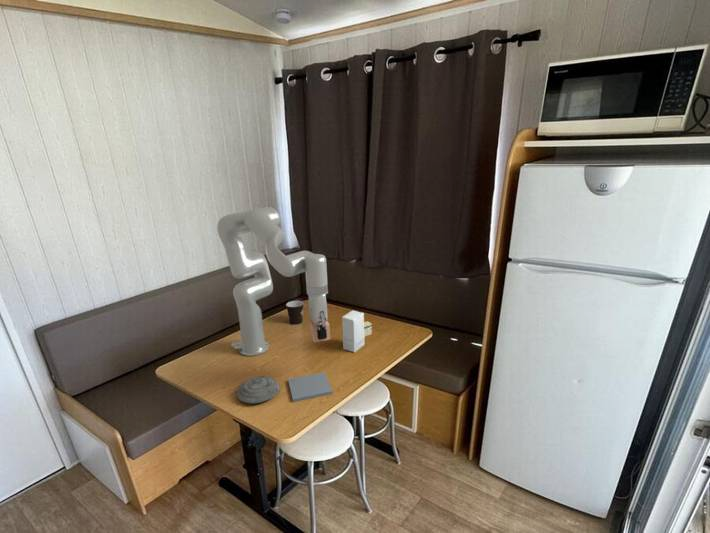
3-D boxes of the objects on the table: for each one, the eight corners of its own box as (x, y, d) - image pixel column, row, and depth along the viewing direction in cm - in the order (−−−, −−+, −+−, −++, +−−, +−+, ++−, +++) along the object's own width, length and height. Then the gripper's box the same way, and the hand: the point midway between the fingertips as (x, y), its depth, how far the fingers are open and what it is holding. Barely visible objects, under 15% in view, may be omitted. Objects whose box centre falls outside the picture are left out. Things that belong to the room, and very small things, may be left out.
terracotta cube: (314, 342, 135) (313, 327, 133) (310, 335, 140) (309, 320, 139) (330, 339, 137) (329, 324, 135) (326, 332, 142) (325, 318, 140)
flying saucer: (254, 378, 144) (253, 365, 142) (288, 386, 138) (286, 373, 136) (227, 401, 130) (225, 387, 129) (263, 411, 125) (261, 396, 123)
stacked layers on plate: (367, 329, 182) (367, 318, 180) (377, 336, 174) (377, 325, 173) (349, 334, 177) (349, 323, 176) (359, 341, 170) (358, 330, 168)
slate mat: (293, 402, 128) (292, 399, 128) (288, 381, 140) (288, 379, 140) (332, 393, 132) (332, 391, 132) (324, 374, 144) (324, 372, 144)
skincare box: (353, 341, 169) (352, 309, 165) (365, 345, 165) (365, 312, 161) (342, 349, 163) (341, 316, 158) (354, 353, 159) (353, 319, 154)
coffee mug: (296, 326, 186) (295, 308, 183) (284, 323, 190) (282, 305, 188) (311, 318, 195) (310, 300, 192) (299, 315, 200) (297, 297, 197)
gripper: (302, 283, 140) (305, 327, 145) (312, 298, 124) (315, 347, 129) (321, 280, 142) (324, 324, 147) (334, 295, 126) (336, 343, 131)
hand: (320, 334), depth 138 cm, fingers closed on terracotta cube, 6 cm apart
